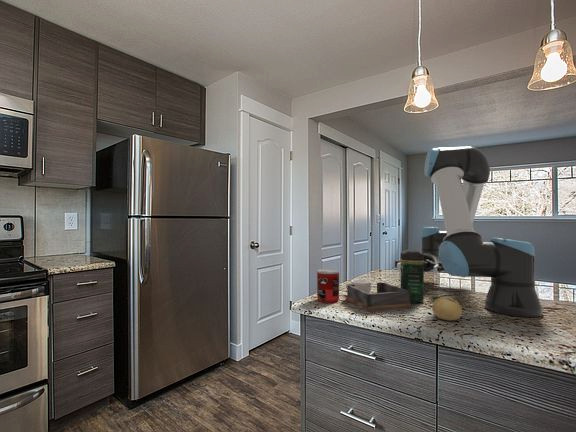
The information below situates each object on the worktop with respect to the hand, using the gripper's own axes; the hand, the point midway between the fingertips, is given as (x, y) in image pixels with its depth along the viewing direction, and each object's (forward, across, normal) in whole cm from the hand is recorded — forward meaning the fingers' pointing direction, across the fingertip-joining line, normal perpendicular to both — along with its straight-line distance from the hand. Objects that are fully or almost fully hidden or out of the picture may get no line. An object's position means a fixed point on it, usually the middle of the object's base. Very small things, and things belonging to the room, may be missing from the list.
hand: (415, 268), depth 120 cm
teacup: (+12, +19, -11) cm, 25 cm away
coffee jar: (+8, 0, -11) cm, 13 cm away
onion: (+24, -14, -11) cm, 30 cm away
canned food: (+26, +25, -11) cm, 38 cm away
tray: (+20, +9, -10) cm, 24 cm away
